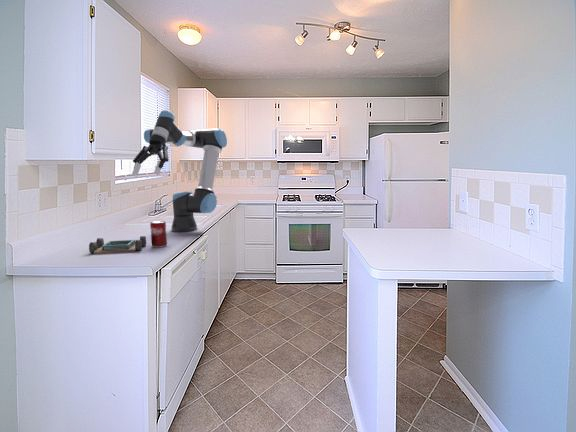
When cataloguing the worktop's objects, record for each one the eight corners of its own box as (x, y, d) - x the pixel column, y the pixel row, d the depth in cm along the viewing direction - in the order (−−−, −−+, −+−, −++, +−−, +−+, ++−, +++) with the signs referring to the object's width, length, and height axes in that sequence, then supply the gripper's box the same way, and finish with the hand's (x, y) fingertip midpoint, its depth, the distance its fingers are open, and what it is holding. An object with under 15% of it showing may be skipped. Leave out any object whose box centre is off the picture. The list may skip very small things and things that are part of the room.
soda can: (160, 244, 198) (158, 220, 197) (170, 245, 194) (168, 221, 193) (148, 246, 192) (146, 222, 190) (158, 248, 188) (157, 223, 187)
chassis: (100, 247, 194) (99, 237, 193) (146, 244, 197) (146, 235, 196) (89, 254, 178) (88, 243, 177) (139, 251, 181) (138, 241, 181)
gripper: (134, 135, 197) (120, 171, 189) (174, 131, 187) (160, 168, 179) (144, 144, 203) (130, 179, 195) (183, 140, 193) (170, 177, 185)
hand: (145, 174), depth 187 cm, fingers open, 13 cm apart
